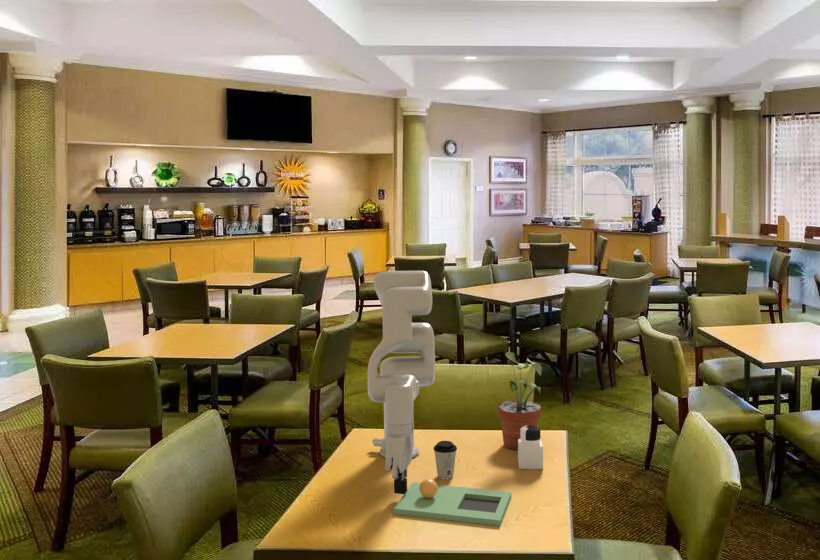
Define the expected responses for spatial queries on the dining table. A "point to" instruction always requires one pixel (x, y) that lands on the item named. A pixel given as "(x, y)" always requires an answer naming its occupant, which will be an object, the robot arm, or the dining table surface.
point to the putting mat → (456, 504)
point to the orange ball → (428, 488)
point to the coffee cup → (445, 458)
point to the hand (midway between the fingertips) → (400, 492)
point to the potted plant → (518, 408)
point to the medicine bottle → (530, 448)
